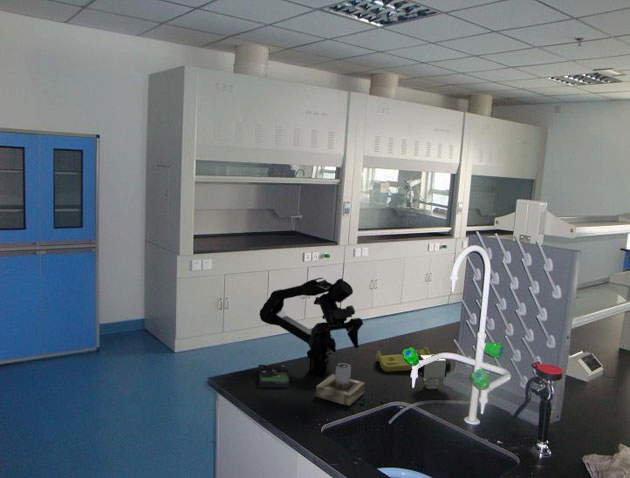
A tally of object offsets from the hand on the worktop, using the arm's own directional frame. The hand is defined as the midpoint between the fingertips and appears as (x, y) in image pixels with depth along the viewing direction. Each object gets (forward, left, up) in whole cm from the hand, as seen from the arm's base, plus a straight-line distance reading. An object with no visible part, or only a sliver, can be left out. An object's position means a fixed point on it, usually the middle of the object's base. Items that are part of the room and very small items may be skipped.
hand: (346, 349), depth 173 cm
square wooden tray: (+2, -5, -14) cm, 15 cm away
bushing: (+2, -5, -14) cm, 15 cm away
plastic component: (+11, +31, -14) cm, 36 cm away
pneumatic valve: (+25, +19, -14) cm, 34 cm away
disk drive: (-24, -7, -14) cm, 29 cm away
